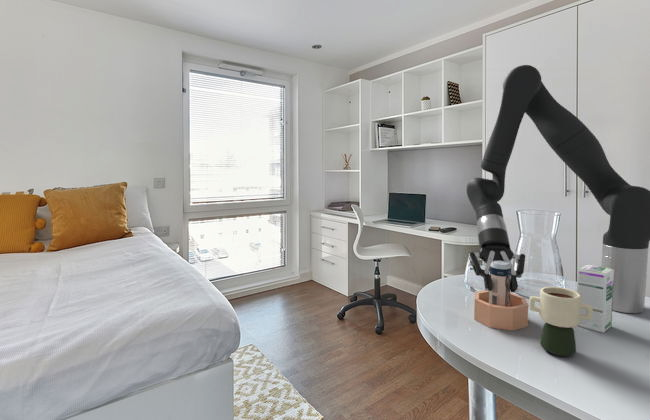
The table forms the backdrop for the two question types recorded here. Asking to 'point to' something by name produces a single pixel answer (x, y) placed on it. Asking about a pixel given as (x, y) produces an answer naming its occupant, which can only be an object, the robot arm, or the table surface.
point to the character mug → (559, 318)
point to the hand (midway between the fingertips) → (501, 290)
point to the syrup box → (596, 296)
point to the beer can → (500, 283)
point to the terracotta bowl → (501, 312)
